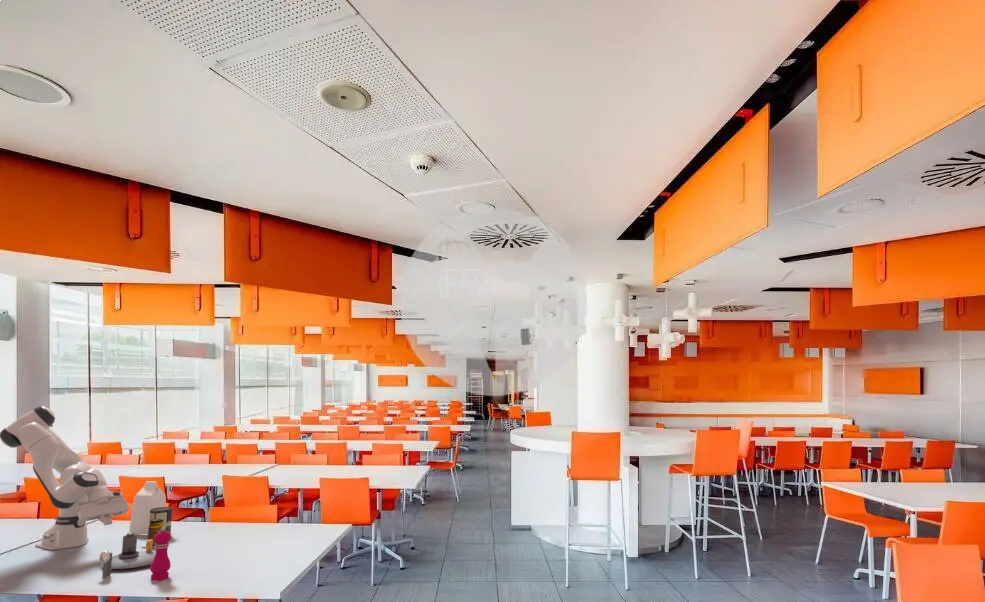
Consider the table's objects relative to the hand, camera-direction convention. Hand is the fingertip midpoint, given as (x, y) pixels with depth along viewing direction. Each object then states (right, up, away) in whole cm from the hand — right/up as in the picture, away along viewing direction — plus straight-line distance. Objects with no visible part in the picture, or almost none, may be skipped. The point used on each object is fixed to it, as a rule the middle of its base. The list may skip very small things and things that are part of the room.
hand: (108, 524), depth 266 cm
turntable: (+19, -11, -12) cm, 25 cm away
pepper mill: (+42, -10, -31) cm, 53 cm away
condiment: (+11, -17, +16) cm, 26 cm away
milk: (-7, -21, +42) cm, 47 cm away
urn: (+15, -11, -9) cm, 21 cm away
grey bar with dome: (+19, -10, -29) cm, 36 cm away
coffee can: (+5, -19, +31) cm, 37 cm away
